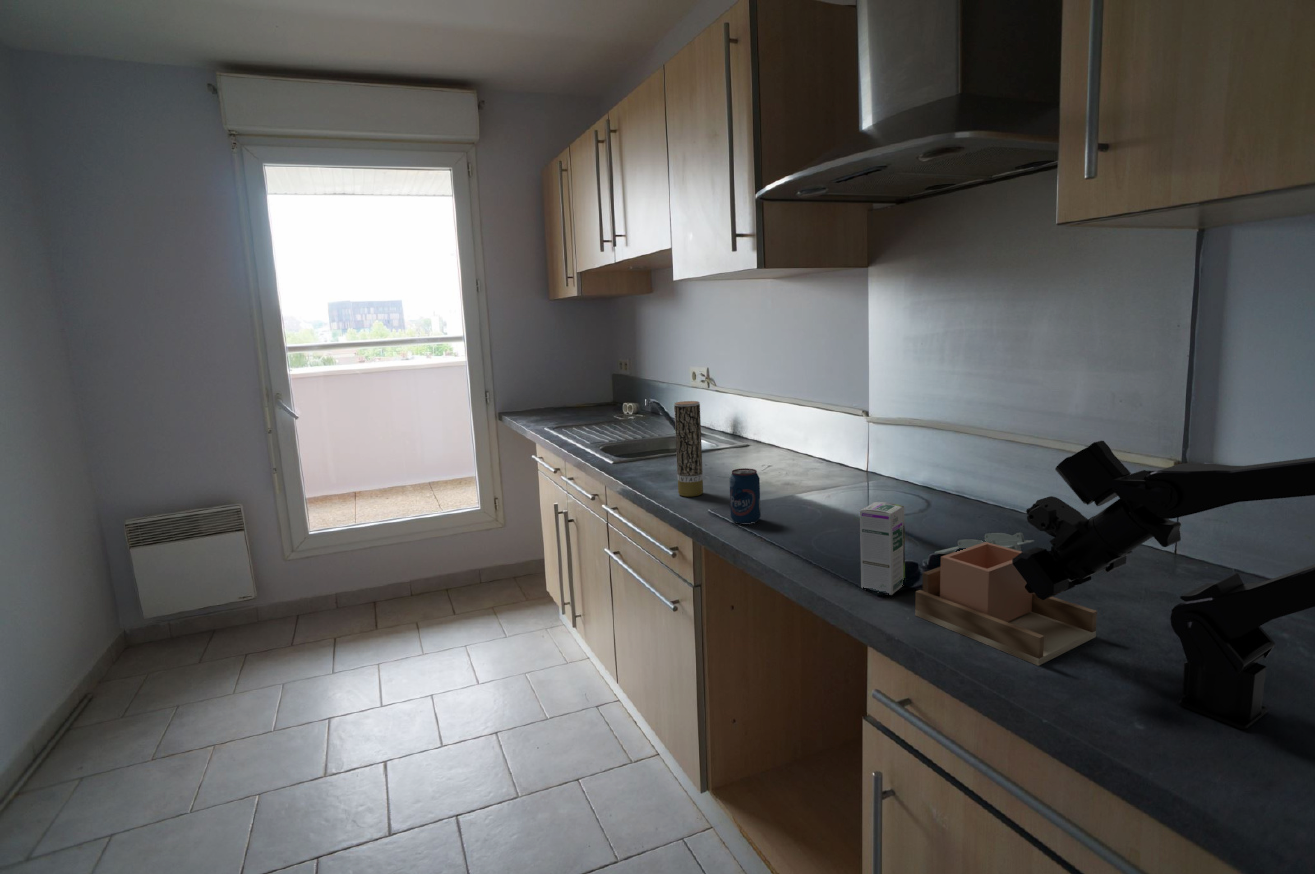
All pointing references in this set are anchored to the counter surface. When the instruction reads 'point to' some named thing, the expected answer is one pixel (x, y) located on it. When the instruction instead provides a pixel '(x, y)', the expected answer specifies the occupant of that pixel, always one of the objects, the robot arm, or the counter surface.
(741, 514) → the soda can
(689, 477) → the paper tube
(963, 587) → the box
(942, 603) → the wooden bay
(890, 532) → the syrup box
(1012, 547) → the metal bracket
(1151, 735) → the counter surface
